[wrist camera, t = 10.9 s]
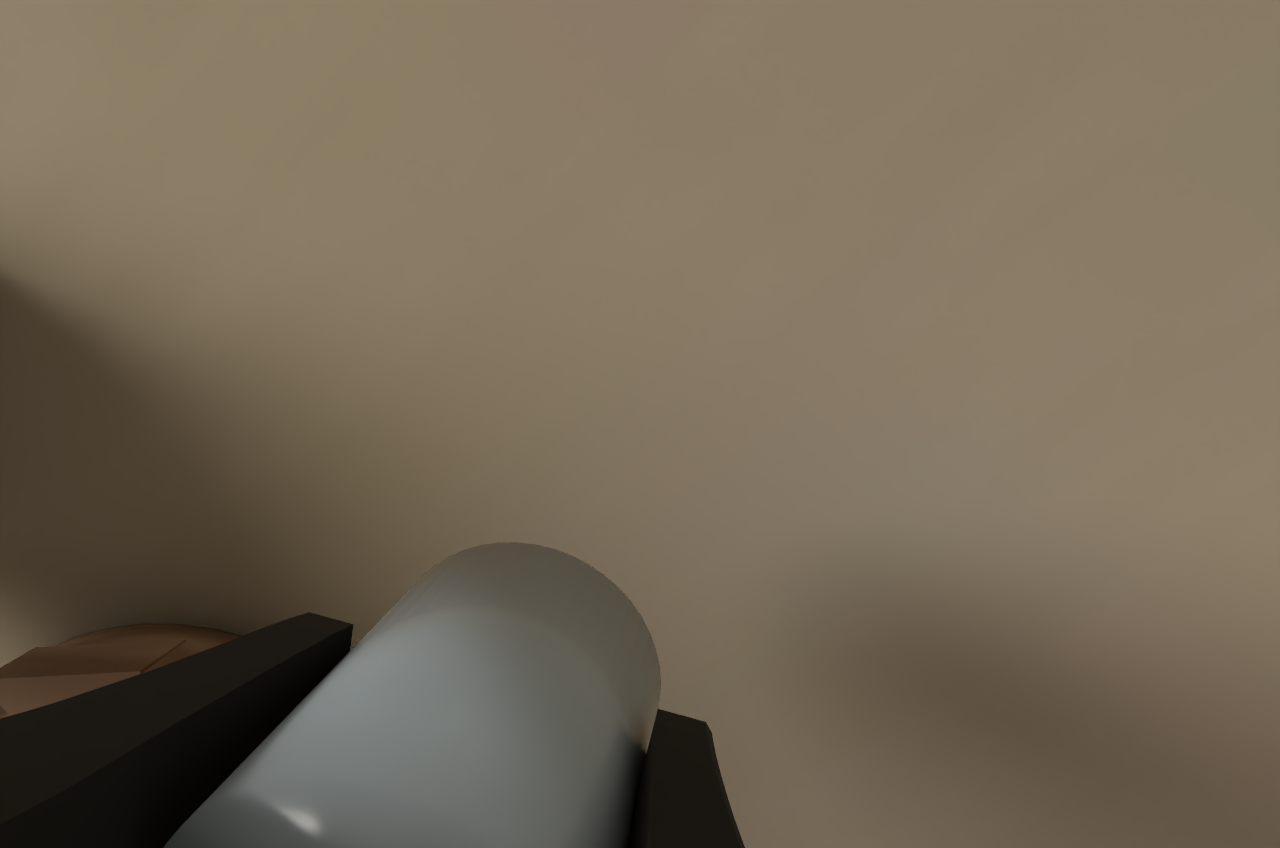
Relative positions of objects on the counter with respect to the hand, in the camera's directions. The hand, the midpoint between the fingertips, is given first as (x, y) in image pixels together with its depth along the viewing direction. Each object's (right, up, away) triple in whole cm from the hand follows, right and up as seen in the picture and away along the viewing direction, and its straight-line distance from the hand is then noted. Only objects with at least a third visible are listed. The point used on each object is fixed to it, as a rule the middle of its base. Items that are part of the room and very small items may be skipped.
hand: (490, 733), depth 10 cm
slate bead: (0, 0, +1) cm, 1 cm away
